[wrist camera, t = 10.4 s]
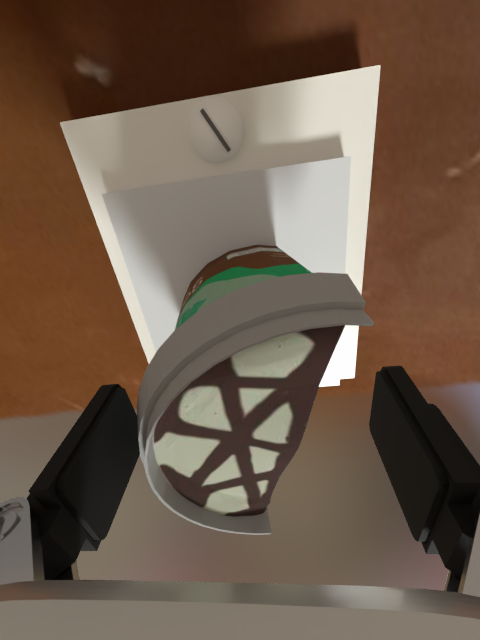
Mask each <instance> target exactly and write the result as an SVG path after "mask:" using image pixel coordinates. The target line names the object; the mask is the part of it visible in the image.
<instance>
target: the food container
mask: <svg viewBox="0 0 480 640" xmlns="http://www.w3.org/2000/svg"><path fill="white" fill-rule="evenodd" d="M365 304H366V302H365V300H364V299H363V297H362V296H361V294H360V292H359V291H358V289H357V288H356V286H355V285H354V283H353V282H352V280H351V279H350V277H349V275H348V274H342V273H322V272H317V273H312V272H310V271H309V270H308V269H306V268H305V267H304V266H302V265H301V264H300V263H298V262H297V261H296V260H294V259H293V258H292V257H290V256H289V255H288V254H286V253H285V252H284V251H282V250H281V249H280V248H278V247H277V246H268V245H253V246H249V247H244V248H239V249H235V250H230V251H228V252H227V253H225V254H223V255H221V256H220V257H218V258H216V259H214V260H212V261H211V262H209V263H207V264H206V265H205V266H204V268H203V269H202V270H201V271H200V272H199V273H198V274H197V275H196V276H195V278H194V279H193V280H192V281H191V282H190V285H189V287H188V289H187V292H186V294H185V296H184V299H183V302H182V306H181V309H180V313H179V317H178V320H177V324H176V327H175V331H174V332H173V333H172V334H171V335H170V336H169V337H168V339H167V340H166V341H165V342H164V343H163V344H162V345H161V346H160V348H159V349H158V350H157V352H156V354H155V355H154V357H153V359H152V360H151V362H150V364H149V365H148V367H147V368H146V371H145V374H144V377H143V380H142V382H141V385H140V388H139V395H138V404H137V418H138V441H139V449H140V457H141V459H142V462H143V465H144V467H145V470H146V476H147V478H148V481H149V483H150V486H151V488H152V490H153V491H154V493H155V494H156V495H157V497H158V498H159V499H160V501H161V502H162V503H163V504H165V505H166V506H167V507H168V508H169V509H170V510H171V511H173V512H174V513H176V514H178V515H179V516H181V517H183V518H184V519H186V520H188V521H191V522H193V523H196V524H198V525H200V526H204V527H207V528H211V529H214V530H218V531H224V532H230V533H238V534H271V529H270V523H269V516H268V509H267V506H268V505H269V503H270V498H271V495H272V492H273V490H274V488H275V486H276V483H277V481H278V479H279V477H280V475H281V474H282V472H283V471H284V469H285V468H286V467H287V465H288V464H289V462H290V461H291V459H292V458H293V456H294V454H295V453H296V451H297V450H298V448H299V446H300V443H301V440H302V437H303V434H304V432H305V429H306V425H307V422H308V418H309V415H310V412H311V409H312V406H313V402H314V400H315V397H316V394H317V391H318V388H319V385H320V383H321V380H322V378H323V376H324V373H325V371H326V369H327V366H328V364H329V362H330V359H331V357H332V355H333V352H334V350H335V348H336V345H337V343H338V341H339V339H340V336H341V334H342V332H343V330H344V328H345V325H355V326H374V322H373V321H372V320H371V318H370V317H369V316H368V315H367V314H366V313H365V312H364V311H363V308H364V306H365Z"/></svg>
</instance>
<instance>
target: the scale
mask: <svg viewBox="0 0 480 640" xmlns="http://www.w3.org/2000/svg"><path fill="white" fill-rule="evenodd" d="M379 77H380V65H377V66H371V67H366V68H360V69H355V70H349V71H344V72H338V73H332V74H327V75H321V76H316V77H310V78H305V79H299V80H293V81H288V82H282V83H277V84H271V85H266V86H260V87H254V88H249V89H243V90H238V91H232V92H227V93H221V94H215V95H210V96H204V97H199V98H193V99H188V100H182V101H176V102H171V103H165V104H160V105H154V106H149V107H143V108H137V109H132V110H126V111H121V112H115V113H110V114H104V115H98V116H93V117H87V118H82V119H76V120H71V121H65V122H60V125H61V128H62V130H63V133H64V136H65V138H66V141H67V144H68V146H69V149H70V152H71V155H72V157H73V160H74V163H75V165H76V168H77V171H78V174H79V176H80V179H81V182H82V184H83V187H84V190H85V192H86V195H87V198H88V201H89V203H90V206H91V209H92V211H93V214H94V217H95V220H96V222H97V225H98V228H99V230H100V233H101V236H102V238H103V241H104V244H105V247H106V249H107V252H108V255H109V257H110V260H111V263H112V266H113V268H114V271H115V274H116V276H117V279H118V282H119V284H120V287H121V290H122V293H123V295H124V298H125V301H126V303H127V306H128V309H129V312H130V314H131V317H132V320H133V322H134V325H135V328H136V330H137V333H138V336H139V339H140V341H141V344H142V347H143V349H144V352H145V355H146V358H147V360H148V363H149V364H150V362H151V360H152V359H153V357H154V355H155V354H156V352H157V350H158V349H159V348H160V346H161V345H162V344H163V343H164V342H165V341H166V340H167V339H168V337H169V336H170V335H171V334H172V333H173V332H174V331H175V327H176V324H177V320H178V317H179V313H180V309H181V306H182V302H183V299H184V296H185V294H186V292H187V289H188V287H189V285H190V282H191V281H192V280H193V279H194V278H195V276H196V275H197V274H198V273H199V272H200V271H201V270H202V269H203V268H204V266H205V265H206V264H207V263H209V262H211V261H212V260H214V259H216V258H218V257H220V256H221V255H223V254H225V253H227V252H228V251H230V250H235V249H239V248H244V247H249V246H253V245H268V246H277V247H278V248H280V249H281V250H282V251H284V252H285V253H286V254H288V255H289V256H290V257H292V258H293V259H294V260H296V261H297V262H298V263H300V264H301V265H302V266H304V267H305V268H306V269H308V270H309V271H310V272H312V273H317V272H322V273H342V274H348V275H349V277H350V279H351V280H352V282H353V283H354V285H355V286H356V288H357V289H358V291H359V292H360V294H361V293H362V281H363V269H364V257H365V245H366V233H367V221H368V209H369V197H370V185H371V173H372V161H373V149H374V137H375V125H376V113H377V101H378V89H379ZM358 329H359V326H355V325H345V328H344V330H343V332H342V334H341V336H340V339H339V341H338V343H337V345H336V348H335V350H334V352H333V355H332V357H331V359H330V362H329V364H328V366H327V369H326V371H325V373H324V376H323V378H322V380H321V383H320V385H319V387H323V386H336V385H339V384H340V379H348V378H354V377H355V365H356V353H357V341H358Z"/></svg>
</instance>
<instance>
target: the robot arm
mask: <svg viewBox="0 0 480 640" xmlns="http://www.w3.org/2000/svg"><path fill="white" fill-rule="evenodd" d="M369 425H370V431H371V435H372V437H373V439H374V442H375V445H376V447H377V449H378V452H379V454H380V457H381V459H382V462H383V464H384V467H385V469H386V472H387V474H388V476H389V479H390V481H391V484H392V486H393V489H394V491H395V494H396V496H397V499H398V501H399V503H400V506H401V508H402V510H403V513H404V516H405V518H406V521H407V523H408V526H409V528H410V531H411V533H412V535H413V537H414V538H415V540H416V541H420V542H422V545H423V547H424V549H425V552H426V554H439V555H440V557H441V559H442V561H443V563H444V565H445V567H446V568H447V569H448V570H449V572H448V576H447V580H446V584H445V587H444V591H438V590H428V589H415V588H394V587H372V586H345V585H343V586H342V585H308V584H307V585H306V584H270V583H269V584H268V583H226V582H223V583H222V582H180V581H177V582H176V581H121V580H120V581H119V580H80V577H79V572H78V566H77V560H76V559H77V557H78V555H79V552H80V551H97V549H98V547H99V544H100V542H101V540H103V539H105V537H106V536H107V534H108V531H109V529H110V527H111V524H112V522H113V519H114V517H115V514H116V512H117V509H118V506H119V504H120V502H121V499H122V497H123V494H124V492H125V489H126V487H127V484H128V482H129V479H130V477H131V474H132V472H133V469H134V467H135V465H136V462H137V459H138V457H139V455H140V449H139V441H138V418H137V415H136V413H135V411H134V408H133V406H132V404H131V402H130V400H129V397H128V395H127V393H126V391H125V389H124V388H121V386H120V385H119V384H112V385H103V386H101V387H100V388H99V390H98V391H97V393H96V394H95V396H94V397H93V399H92V400H91V401H90V403H89V404H88V406H87V407H86V409H85V410H84V412H83V413H82V414H81V416H80V418H79V419H78V420H77V422H76V423H75V425H74V426H73V427H72V429H71V431H70V432H69V433H68V435H67V436H66V438H65V439H64V441H63V442H62V443H61V445H60V446H59V448H58V449H57V451H56V452H55V454H54V455H53V456H52V458H51V459H50V461H49V462H48V464H47V465H46V467H45V468H44V469H43V471H42V472H41V474H40V475H39V477H38V478H37V480H36V481H35V483H34V484H33V486H32V487H31V488H30V490H29V492H30V495H29V496H28V497H27V499H25V498H23V497H16V498H11V499H9V500H7V501H4V502H2V503H0V640H480V466H479V464H478V463H477V461H476V460H475V459H474V457H473V456H472V454H471V453H470V452H469V450H468V449H467V447H466V446H465V445H464V443H463V442H462V440H461V439H460V438H459V436H458V435H457V433H456V432H455V431H454V429H453V428H452V426H451V425H450V424H449V422H448V421H447V420H446V418H445V417H444V416H443V414H442V413H441V411H440V410H439V409H438V408H437V406H435V405H434V404H428V403H427V402H426V400H425V399H424V398H423V396H422V395H421V393H420V392H419V390H418V389H417V387H416V386H415V384H414V383H413V382H412V380H411V379H410V377H409V376H408V374H407V373H406V371H405V370H404V368H403V367H402V366H389V367H382V369H381V371H378V372H377V373H376V378H375V385H374V393H373V400H372V409H371V416H370V424H369Z"/></svg>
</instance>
